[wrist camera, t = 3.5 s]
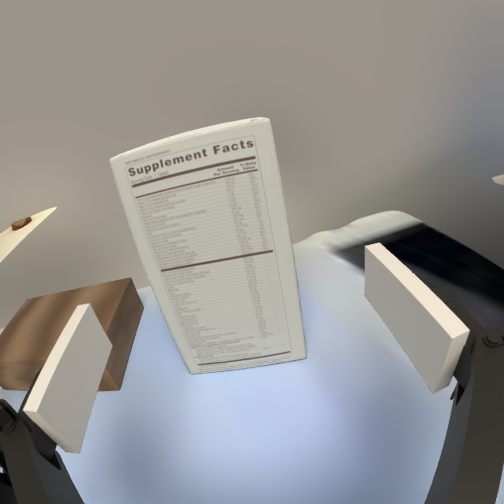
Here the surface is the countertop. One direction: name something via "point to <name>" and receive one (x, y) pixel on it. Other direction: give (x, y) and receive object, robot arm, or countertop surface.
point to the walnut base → (53, 323)
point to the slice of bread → (21, 223)
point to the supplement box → (216, 243)
